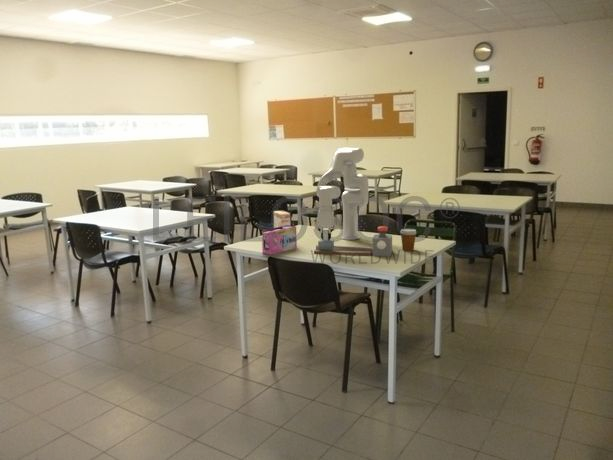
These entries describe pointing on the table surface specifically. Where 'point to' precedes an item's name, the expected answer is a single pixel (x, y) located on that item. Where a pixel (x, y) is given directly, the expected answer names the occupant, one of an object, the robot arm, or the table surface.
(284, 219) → the coffeecake box
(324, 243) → the carriage
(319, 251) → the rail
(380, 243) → the gauge cabinet
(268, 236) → the gum box
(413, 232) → the disposable coffee cup
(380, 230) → the gauge button
